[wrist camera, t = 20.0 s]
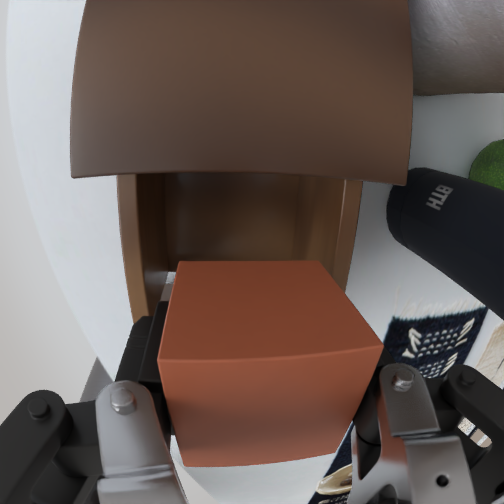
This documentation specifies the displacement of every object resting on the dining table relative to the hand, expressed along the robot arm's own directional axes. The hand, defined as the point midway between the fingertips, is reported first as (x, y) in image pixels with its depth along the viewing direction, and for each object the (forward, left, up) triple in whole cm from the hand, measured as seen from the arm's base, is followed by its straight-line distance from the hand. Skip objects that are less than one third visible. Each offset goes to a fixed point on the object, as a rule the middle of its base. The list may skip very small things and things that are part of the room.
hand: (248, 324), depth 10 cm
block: (0, 0, 0) cm, 0 cm away
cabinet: (0, +11, -10) cm, 15 cm away
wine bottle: (+14, +2, -10) cm, 18 cm away
